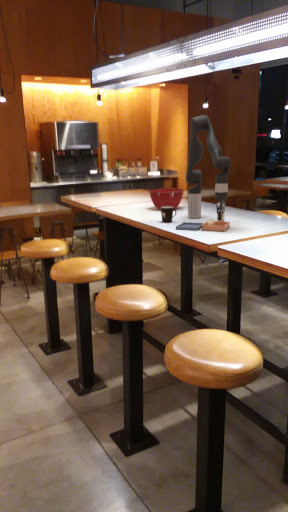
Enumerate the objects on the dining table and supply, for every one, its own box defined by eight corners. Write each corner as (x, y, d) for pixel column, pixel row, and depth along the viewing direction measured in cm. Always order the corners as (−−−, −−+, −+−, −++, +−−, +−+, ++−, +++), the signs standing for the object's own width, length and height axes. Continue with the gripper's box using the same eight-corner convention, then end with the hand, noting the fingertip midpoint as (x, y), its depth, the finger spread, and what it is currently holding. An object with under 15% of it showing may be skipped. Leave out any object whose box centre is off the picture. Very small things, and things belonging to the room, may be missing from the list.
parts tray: (183, 224, 273) (183, 222, 273) (204, 225, 268) (204, 223, 267) (175, 229, 259) (175, 226, 259) (197, 230, 254) (197, 227, 253)
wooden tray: (207, 226, 266) (207, 220, 265) (229, 227, 261) (229, 221, 260) (201, 230, 254) (201, 224, 253) (224, 231, 248) (224, 226, 248)
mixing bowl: (143, 208, 347) (142, 189, 343) (173, 205, 359) (173, 187, 355) (158, 213, 322) (158, 192, 318) (190, 209, 334) (190, 190, 330)
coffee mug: (158, 221, 287) (158, 206, 285) (170, 220, 290) (170, 205, 288) (165, 224, 277) (165, 209, 274) (177, 223, 280) (177, 208, 277)
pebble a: (208, 226, 261) (208, 219, 260) (215, 227, 259) (215, 219, 258) (206, 228, 257) (206, 220, 256) (213, 228, 255) (213, 221, 254)
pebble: (217, 220, 258) (218, 213, 256) (225, 220, 256) (225, 213, 255) (216, 221, 254) (216, 214, 253) (223, 222, 252) (223, 214, 251)
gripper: (217, 189, 258) (217, 217, 262) (212, 192, 245) (211, 221, 250) (230, 189, 255) (229, 217, 259) (224, 192, 242) (224, 221, 247)
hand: (220, 219), depth 254 cm, fingers closed on pebble, 4 cm apart
